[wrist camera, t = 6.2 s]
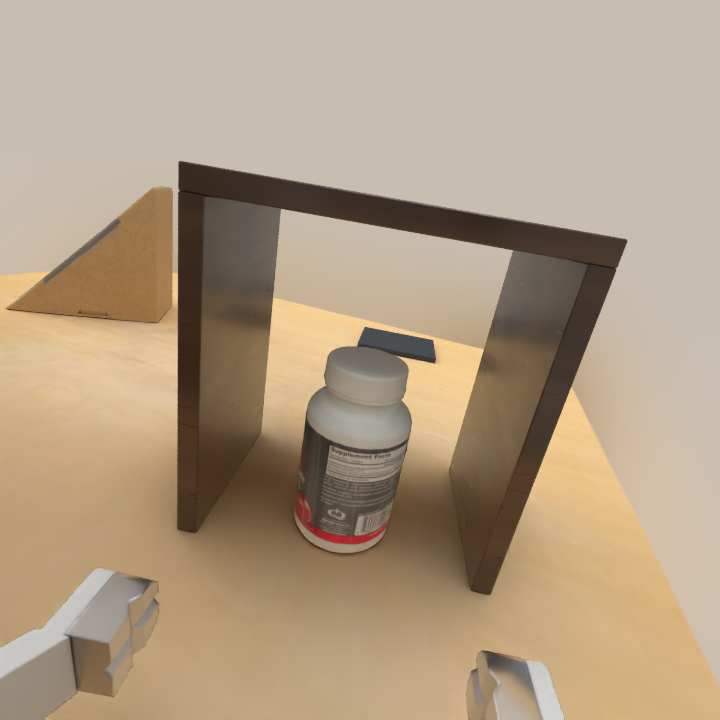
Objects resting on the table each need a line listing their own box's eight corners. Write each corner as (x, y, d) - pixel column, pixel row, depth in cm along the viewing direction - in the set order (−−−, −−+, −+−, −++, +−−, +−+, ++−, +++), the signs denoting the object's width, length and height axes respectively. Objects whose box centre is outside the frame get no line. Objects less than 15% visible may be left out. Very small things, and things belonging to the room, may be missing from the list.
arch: (490, 595, 20) (629, 239, 14) (176, 528, 20) (177, 160, 14) (462, 472, 29) (537, 229, 23) (248, 429, 30) (266, 181, 24)
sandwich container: (43, 291, 51) (28, 162, 46) (173, 304, 55) (173, 187, 50) (2, 309, 43) (-21, 156, 38) (157, 323, 47) (155, 186, 42)
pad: (357, 347, 51) (357, 343, 51) (364, 330, 58) (365, 326, 58) (434, 362, 50) (436, 358, 50) (432, 344, 58) (433, 340, 58)
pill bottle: (294, 484, 25) (313, 335, 21) (378, 489, 26) (410, 347, 22) (290, 556, 20) (314, 377, 16) (395, 559, 21) (438, 390, 17)
